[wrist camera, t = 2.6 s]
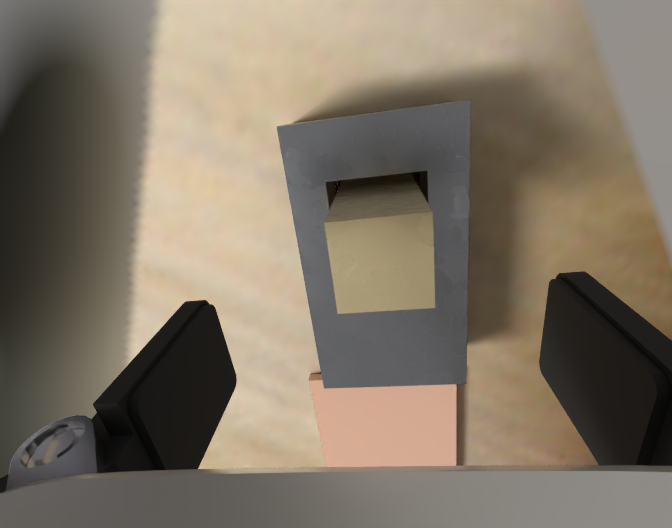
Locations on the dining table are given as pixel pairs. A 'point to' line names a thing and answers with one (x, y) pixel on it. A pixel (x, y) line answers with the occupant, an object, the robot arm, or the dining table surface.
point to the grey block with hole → (448, 229)
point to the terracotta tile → (386, 424)
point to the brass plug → (381, 245)
